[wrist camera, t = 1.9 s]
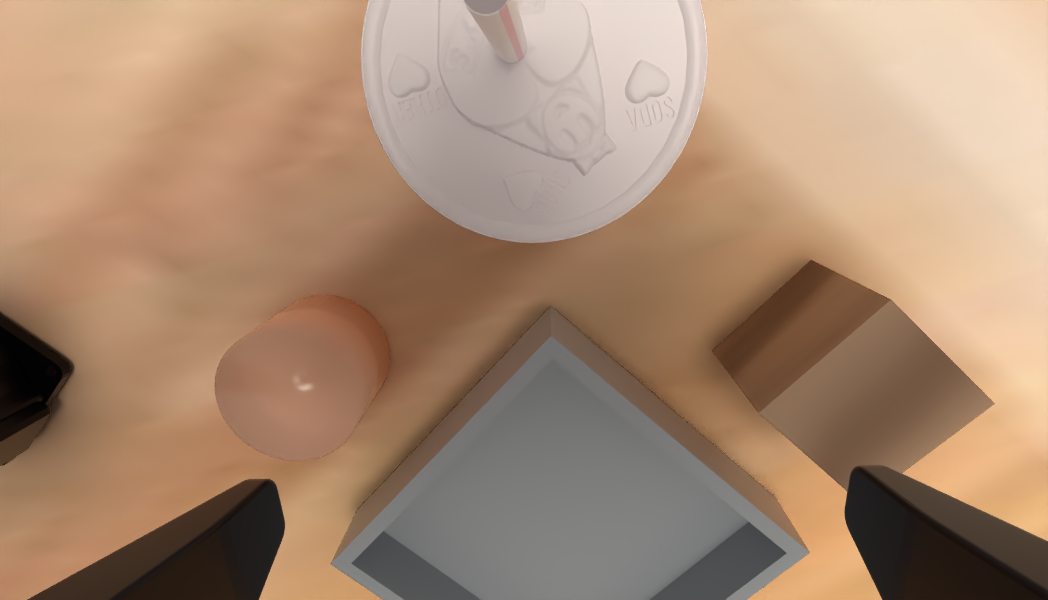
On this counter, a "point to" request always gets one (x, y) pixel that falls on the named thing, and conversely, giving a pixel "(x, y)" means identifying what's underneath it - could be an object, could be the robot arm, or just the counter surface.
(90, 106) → the counter surface
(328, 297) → the brown short cylinder
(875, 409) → the walnut block
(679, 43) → the smoothie
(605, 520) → the tray
